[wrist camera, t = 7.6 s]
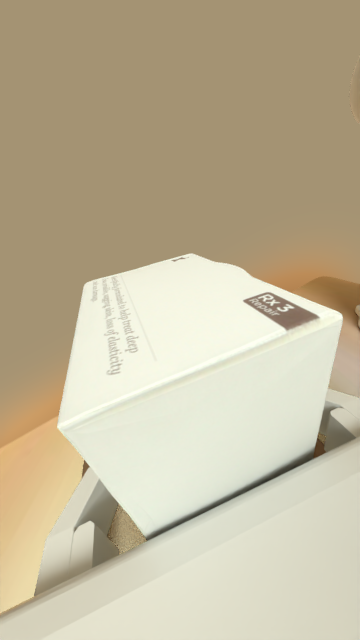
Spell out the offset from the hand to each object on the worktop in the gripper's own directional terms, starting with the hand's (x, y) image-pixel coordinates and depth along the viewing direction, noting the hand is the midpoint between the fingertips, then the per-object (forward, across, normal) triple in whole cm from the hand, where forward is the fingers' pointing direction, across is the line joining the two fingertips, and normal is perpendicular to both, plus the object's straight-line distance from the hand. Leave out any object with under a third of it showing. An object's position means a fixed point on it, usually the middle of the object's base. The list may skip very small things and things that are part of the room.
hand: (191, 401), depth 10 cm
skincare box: (0, 0, +9) cm, 9 cm away
